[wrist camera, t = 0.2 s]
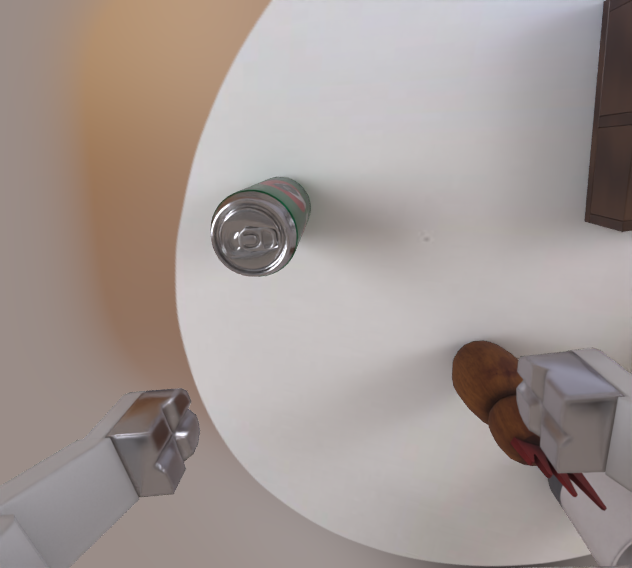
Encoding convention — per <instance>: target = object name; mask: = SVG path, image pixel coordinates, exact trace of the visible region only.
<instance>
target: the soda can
mask: <svg viewBox="0 0 632 568" xmlns="http://www.w3.org/2000/svg"><path fill="white" fill-rule="evenodd" d="M310 211H311V205H310V200H309V197H308V195H307V193H306V191H305V190H304V188H303V187H302V186H301V185H300V184H299V183H297V182H296V181H294V180H292V179H289V178H286V177H274V178H270V179H268V180H265V181H263V182H260V183H258V184H255V185H253V186H250V187H248V188H245V189H243V190H240V191H238V192H235V193H233V194H231V195H230V196H228V197H227V198H225V199H224V200H223V201H222V202H221V203H220V204H219V206H218V207H217V209H216V210H215V212H214V215H213V217H212V222H211V241H212V245H213V248H214V251H215V253H216V255H217V256H218V258H219V259H220V261H221V262H222V263H223V264H224V265H225V266H226V267H227V268H229V269H230V270H232V271H234V272H236V273H238V274H241V275H244V276H259V277H260V276H267V275H271V274H273V273H276V272H278V271H279V270H281V269H282V268H284V267H285V266H286V265H287V264H288V263H289V261H290V260H291V259H292V257H293V255H294V253H295V251H296V249H297V246H298V244H299V241H300V239H301V237H302V234H303V232H304V229H305V227H306V224H307V222H308V220H309V216H310Z"/></svg>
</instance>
